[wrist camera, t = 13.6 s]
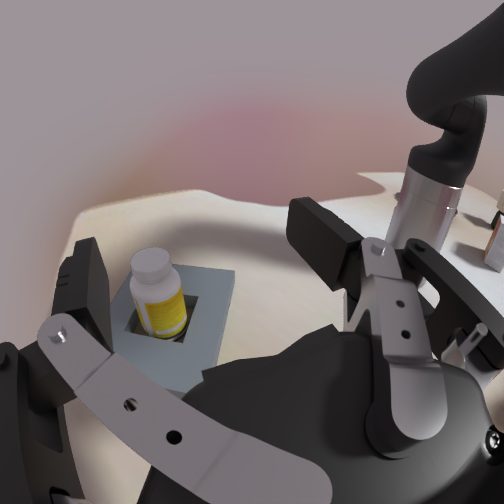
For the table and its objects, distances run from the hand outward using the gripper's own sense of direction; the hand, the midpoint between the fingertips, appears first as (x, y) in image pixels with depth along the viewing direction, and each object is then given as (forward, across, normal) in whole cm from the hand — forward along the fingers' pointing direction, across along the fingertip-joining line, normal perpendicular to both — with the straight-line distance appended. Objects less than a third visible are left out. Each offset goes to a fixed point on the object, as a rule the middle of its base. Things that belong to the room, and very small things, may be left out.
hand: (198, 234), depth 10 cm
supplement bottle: (+12, +2, +20) cm, 23 cm away
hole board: (+12, +3, +20) cm, 23 cm away
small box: (-1, -65, +21) cm, 68 cm away
